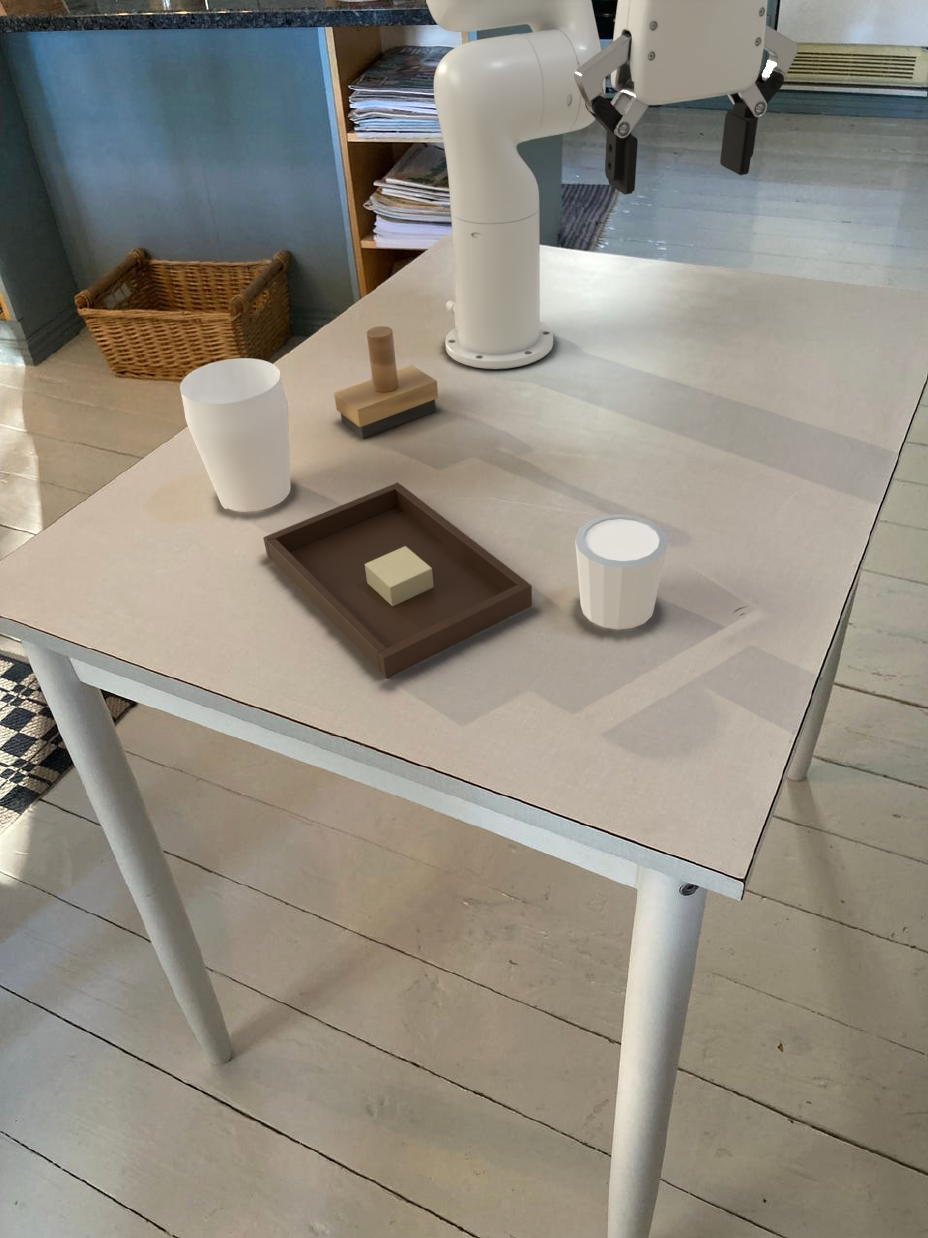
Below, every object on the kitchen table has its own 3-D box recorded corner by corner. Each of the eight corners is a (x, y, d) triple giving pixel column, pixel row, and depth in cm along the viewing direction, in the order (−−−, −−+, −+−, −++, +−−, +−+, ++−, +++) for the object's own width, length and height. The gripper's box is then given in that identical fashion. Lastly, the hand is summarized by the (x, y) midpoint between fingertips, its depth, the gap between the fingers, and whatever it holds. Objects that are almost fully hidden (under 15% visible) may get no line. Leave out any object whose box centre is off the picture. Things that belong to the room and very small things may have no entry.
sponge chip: (366, 583, 82) (364, 563, 81) (407, 564, 84) (405, 545, 82) (392, 607, 79) (390, 587, 78) (434, 587, 81) (432, 567, 80)
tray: (268, 561, 86) (262, 537, 84) (400, 505, 92) (397, 481, 90) (387, 684, 73) (383, 658, 72) (532, 611, 79) (531, 585, 77)
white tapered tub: (676, 627, 76) (684, 554, 72) (593, 648, 75) (596, 574, 71) (639, 576, 82) (644, 505, 77) (560, 595, 80) (561, 523, 76)
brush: (338, 423, 104) (325, 337, 98) (414, 394, 108) (407, 310, 102) (361, 440, 101) (349, 353, 95) (439, 410, 105) (432, 325, 99)
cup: (305, 516, 91) (283, 397, 84) (206, 529, 90) (174, 410, 83) (301, 466, 98) (281, 352, 90) (209, 478, 97) (180, 363, 90)
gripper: (785, -110, 70) (750, 150, 81) (558, -88, 66) (554, 182, 77) (850, -102, 64) (804, 176, 75) (607, -77, 60) (595, 212, 72)
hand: (678, 179), depth 76 cm, fingers open, 9 cm apart
